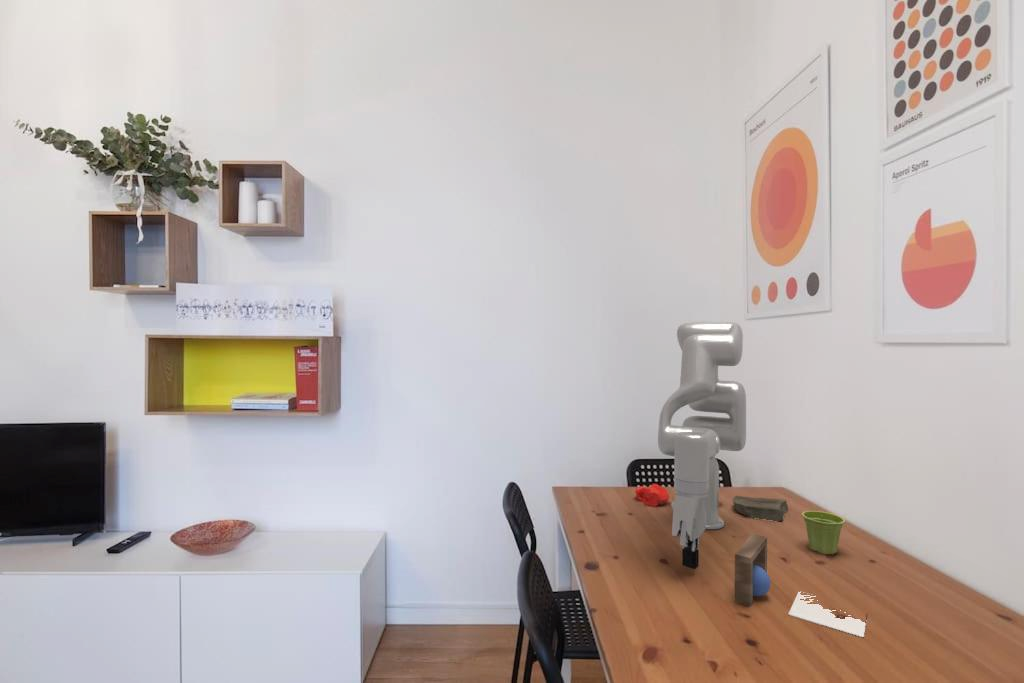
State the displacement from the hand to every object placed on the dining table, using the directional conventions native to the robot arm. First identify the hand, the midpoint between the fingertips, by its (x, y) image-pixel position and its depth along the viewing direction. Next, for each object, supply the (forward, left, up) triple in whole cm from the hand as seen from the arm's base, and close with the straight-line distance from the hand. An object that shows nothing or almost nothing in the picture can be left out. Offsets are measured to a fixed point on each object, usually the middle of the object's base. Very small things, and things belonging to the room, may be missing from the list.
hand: (690, 566), depth 115 cm
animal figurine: (-29, +48, -2) cm, 56 cm away
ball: (+14, -1, +2) cm, 14 cm away
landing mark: (+27, 0, -2) cm, 27 cm away
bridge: (+13, 0, -2) cm, 13 cm away
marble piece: (+3, +58, -2) cm, 58 cm away
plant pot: (+22, +36, -2) cm, 42 cm away
